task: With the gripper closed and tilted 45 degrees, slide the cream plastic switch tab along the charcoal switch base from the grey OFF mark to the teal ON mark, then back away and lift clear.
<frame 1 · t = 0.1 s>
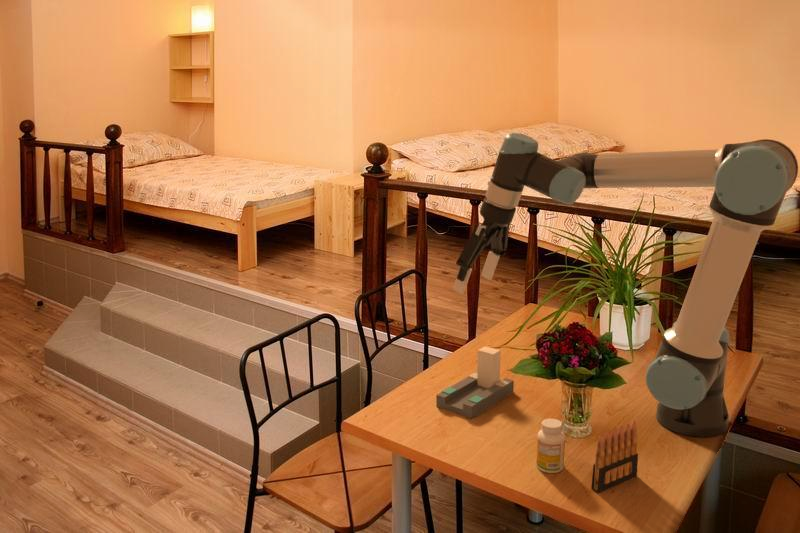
hand: (472, 284, 180), 28 cm above the table, tool tilted 20°, fingers open, 13 cm apart
supplement bottle: (549, 467, 154), on the table
switch base: (475, 399, 184), on the table
switch tab: (488, 367, 187), point 6 cm above the table, slide at 0.0 cm
ammunition clip: (614, 483, 148), on the table
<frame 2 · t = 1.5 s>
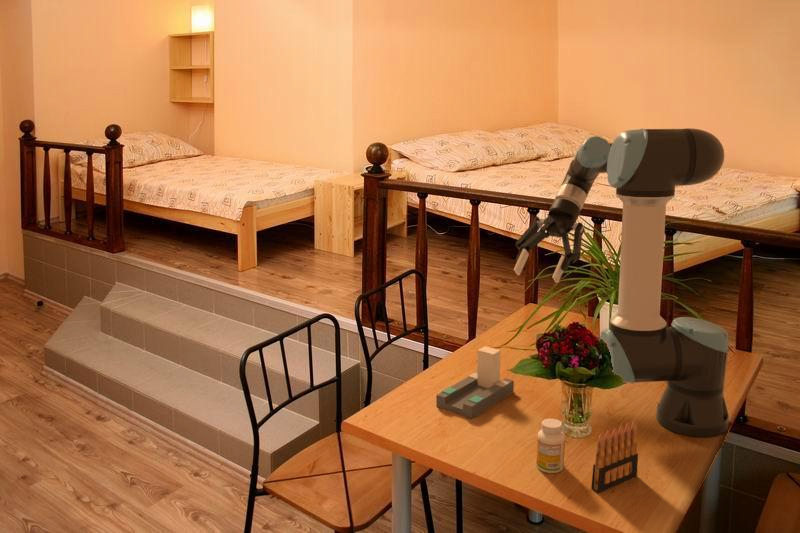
hand: (535, 276, 195), 25 cm above the table, tool tilted 45°, fingers open, 10 cm apart
nothing on the table moved.
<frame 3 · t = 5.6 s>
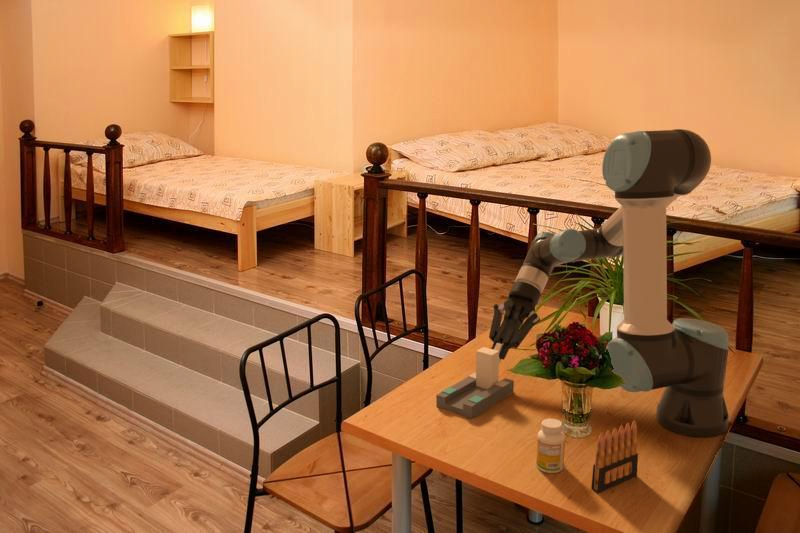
hand: (490, 368, 189), 5 cm above the table, tool tilted 45°, fingers closed
switch tab: (487, 368, 186), point 6 cm above the table, slide at 0.7 cm, touching gripper
everything else where it was.
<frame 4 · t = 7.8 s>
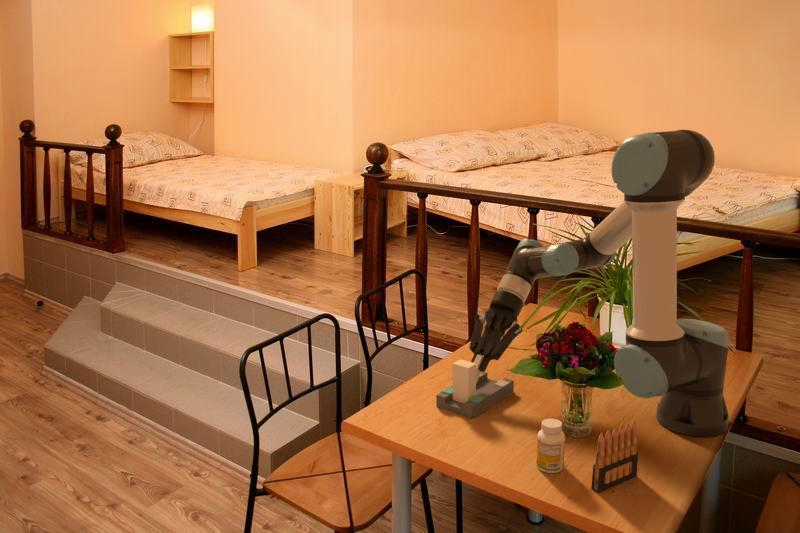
hand: (470, 381, 181), 5 cm above the table, tool tilted 45°, fingers closed
switch tab: (464, 381, 179), point 6 cm above the table, slide at 10.4 cm, touching gripper
everything else where it was.
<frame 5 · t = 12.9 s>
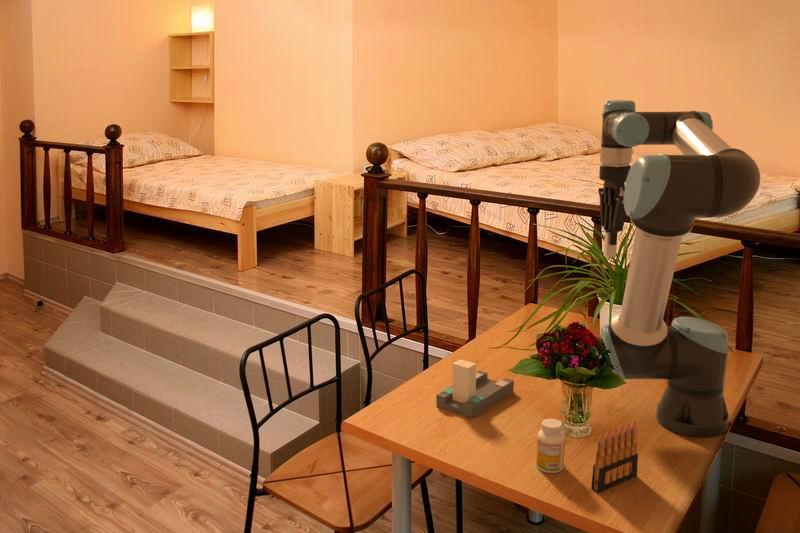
hand: (609, 256, 196), 29 cm above the table, tool pointing down, fingers closed
switch tab: (464, 381, 179), point 6 cm above the table, slide at 10.4 cm
everything else where it was.
at the end: switch tab slide at 10.4 cm; the gripper is holding nothing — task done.
